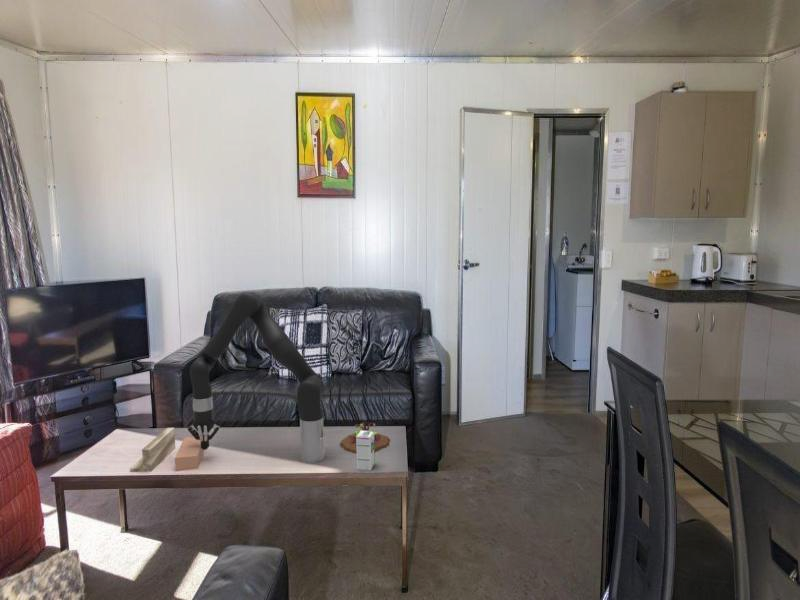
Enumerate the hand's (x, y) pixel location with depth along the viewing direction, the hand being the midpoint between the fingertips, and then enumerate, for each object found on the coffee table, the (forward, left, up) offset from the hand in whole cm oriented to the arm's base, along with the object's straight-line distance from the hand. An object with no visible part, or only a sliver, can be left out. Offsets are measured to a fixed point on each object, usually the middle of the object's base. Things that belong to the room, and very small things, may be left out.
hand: (205, 448), depth 206 cm
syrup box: (-65, +10, -4) cm, 66 cm away
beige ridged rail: (+18, 0, -4) cm, 19 cm away
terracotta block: (+6, 0, -5) cm, 7 cm away
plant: (-64, -12, -5) cm, 65 cm away
